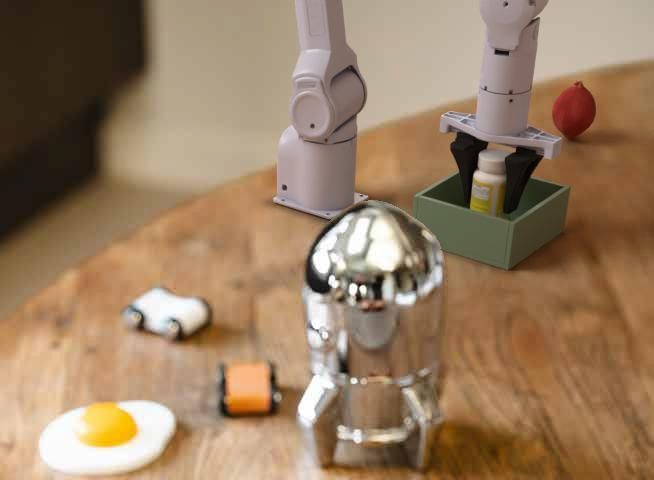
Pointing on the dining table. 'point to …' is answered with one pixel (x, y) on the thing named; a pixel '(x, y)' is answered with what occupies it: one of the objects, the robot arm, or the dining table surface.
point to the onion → (574, 110)
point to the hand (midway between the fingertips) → (490, 205)
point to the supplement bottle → (490, 183)
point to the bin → (492, 221)
